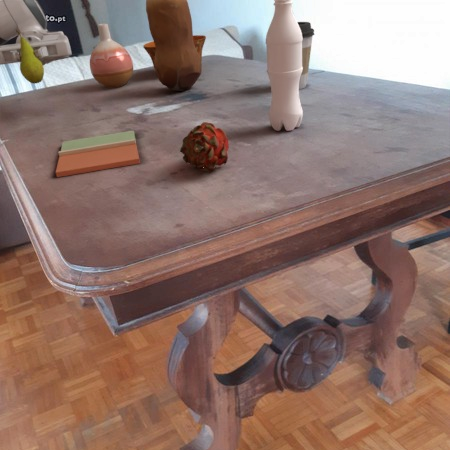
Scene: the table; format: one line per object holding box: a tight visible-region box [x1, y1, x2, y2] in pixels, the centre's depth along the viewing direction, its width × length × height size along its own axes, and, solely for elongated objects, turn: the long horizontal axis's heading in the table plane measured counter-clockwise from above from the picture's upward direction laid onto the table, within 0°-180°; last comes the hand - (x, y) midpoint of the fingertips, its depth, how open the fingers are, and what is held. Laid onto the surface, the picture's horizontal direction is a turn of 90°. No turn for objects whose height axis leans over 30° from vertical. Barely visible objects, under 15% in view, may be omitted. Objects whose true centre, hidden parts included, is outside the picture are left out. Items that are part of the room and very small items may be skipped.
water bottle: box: [265, 0, 304, 132], centre depth 94 cm, size 7×7×25 cm
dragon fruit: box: [179, 121, 230, 173], centre depth 85 cm, size 8×8×12 cm
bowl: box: [142, 34, 207, 69], centre depth 160 cm, size 21×21×10 cm
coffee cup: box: [297, 21, 315, 90], centre depth 126 cm, size 11×11×15 cm
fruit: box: [16, 30, 45, 85], centre depth 118 cm, size 6×6×12 cm
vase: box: [89, 23, 134, 89], centre depth 150 cm, size 14×14×18 cm
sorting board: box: [55, 129, 140, 178], centre depth 99 cm, size 16×20×2 cm
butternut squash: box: [145, 0, 203, 92], centre depth 133 cm, size 14×13×25 cm
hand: (27, 55), depth 117 cm, fingers closed on fruit, 4 cm apart
